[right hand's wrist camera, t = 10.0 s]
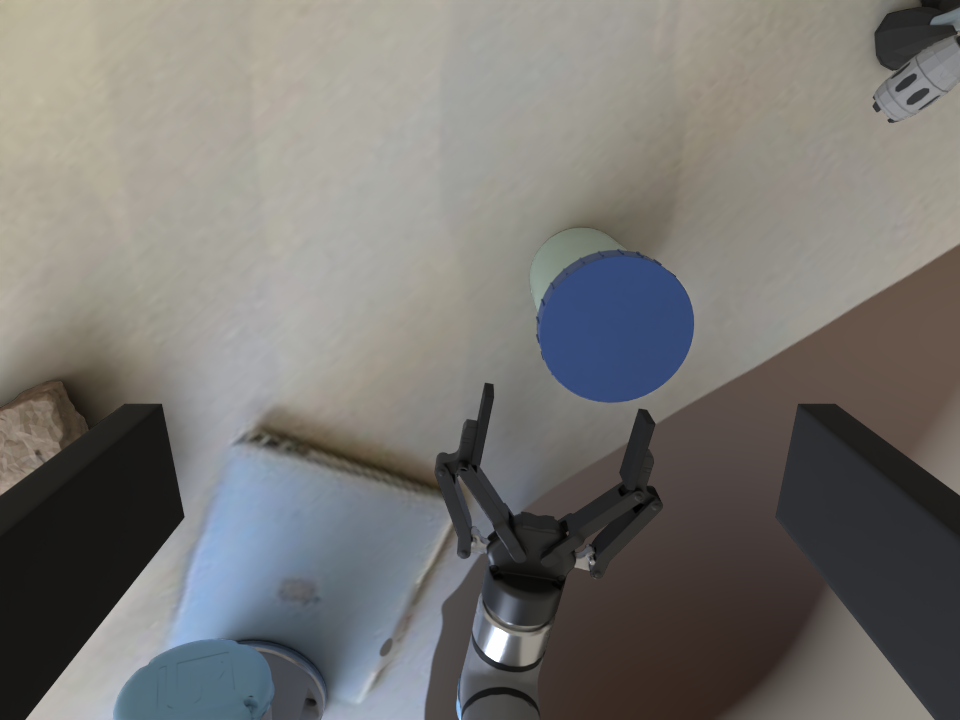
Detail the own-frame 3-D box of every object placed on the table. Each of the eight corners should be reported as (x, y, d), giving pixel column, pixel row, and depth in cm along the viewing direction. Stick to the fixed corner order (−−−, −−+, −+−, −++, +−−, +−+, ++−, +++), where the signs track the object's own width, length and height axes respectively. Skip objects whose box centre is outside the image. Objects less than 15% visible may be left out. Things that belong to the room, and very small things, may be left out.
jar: (520, 239, 52) (535, 280, 37) (620, 217, 51) (675, 248, 37) (539, 333, 55) (560, 404, 40) (634, 313, 54) (690, 377, 40)
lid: (522, 267, 39) (524, 274, 37) (676, 233, 38) (686, 238, 36) (550, 403, 42) (553, 416, 40) (692, 374, 41) (702, 386, 39)
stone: (198, 551, 59) (150, 591, 54) (103, 580, 65) (51, 619, 59) (89, 361, 56) (26, 382, 50) (-2, 408, 61) (-67, 432, 56)
